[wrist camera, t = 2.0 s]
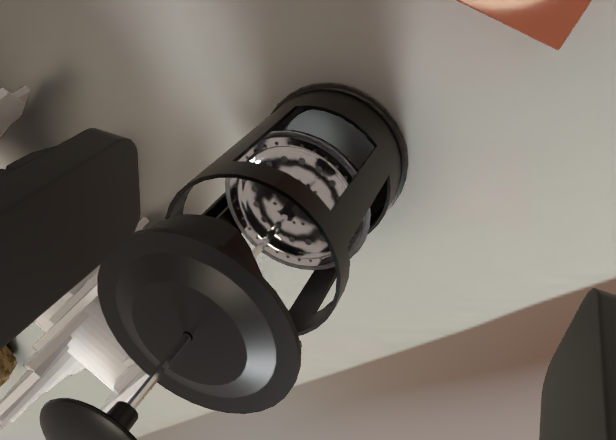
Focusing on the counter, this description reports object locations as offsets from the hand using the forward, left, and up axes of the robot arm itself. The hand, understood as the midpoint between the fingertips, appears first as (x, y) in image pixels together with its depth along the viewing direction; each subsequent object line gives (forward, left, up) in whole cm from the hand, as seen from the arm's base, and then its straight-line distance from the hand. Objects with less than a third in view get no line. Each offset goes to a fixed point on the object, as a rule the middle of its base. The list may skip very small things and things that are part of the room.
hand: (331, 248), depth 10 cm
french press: (-4, -12, -23) cm, 27 cm away
